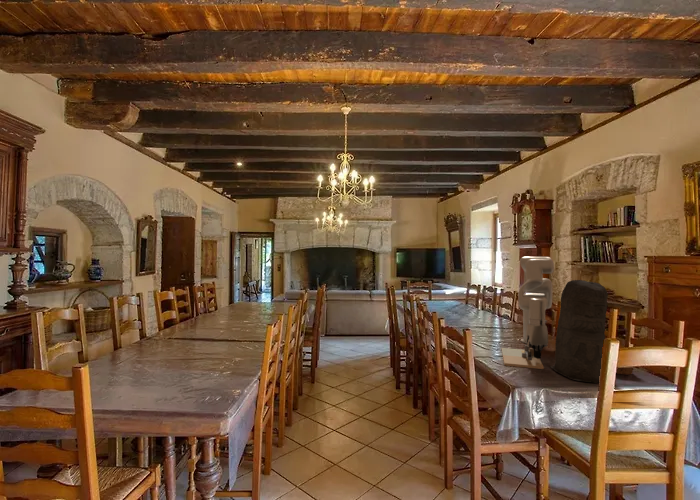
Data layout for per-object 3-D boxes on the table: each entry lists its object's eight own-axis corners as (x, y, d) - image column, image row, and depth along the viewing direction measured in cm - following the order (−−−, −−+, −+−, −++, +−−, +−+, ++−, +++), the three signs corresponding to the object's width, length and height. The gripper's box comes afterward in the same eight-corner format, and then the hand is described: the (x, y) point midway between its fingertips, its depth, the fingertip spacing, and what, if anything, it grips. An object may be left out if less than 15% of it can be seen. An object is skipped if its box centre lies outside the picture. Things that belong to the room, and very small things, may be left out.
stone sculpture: (557, 382, 168) (567, 284, 163) (548, 365, 187) (557, 276, 183) (619, 392, 160) (631, 289, 156) (603, 373, 180) (614, 281, 175)
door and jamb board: (501, 349, 222) (501, 336, 222) (534, 352, 216) (534, 339, 216) (504, 365, 190) (504, 350, 190) (543, 369, 184) (543, 353, 184)
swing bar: (525, 353, 200) (525, 346, 200) (529, 353, 199) (529, 347, 199) (527, 359, 188) (527, 352, 188) (532, 360, 187) (532, 353, 187)
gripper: (545, 320, 197) (545, 355, 197) (519, 321, 195) (519, 356, 195) (555, 323, 190) (555, 359, 189) (528, 323, 188) (528, 360, 187)
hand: (537, 357), depth 192 cm, fingers closed
